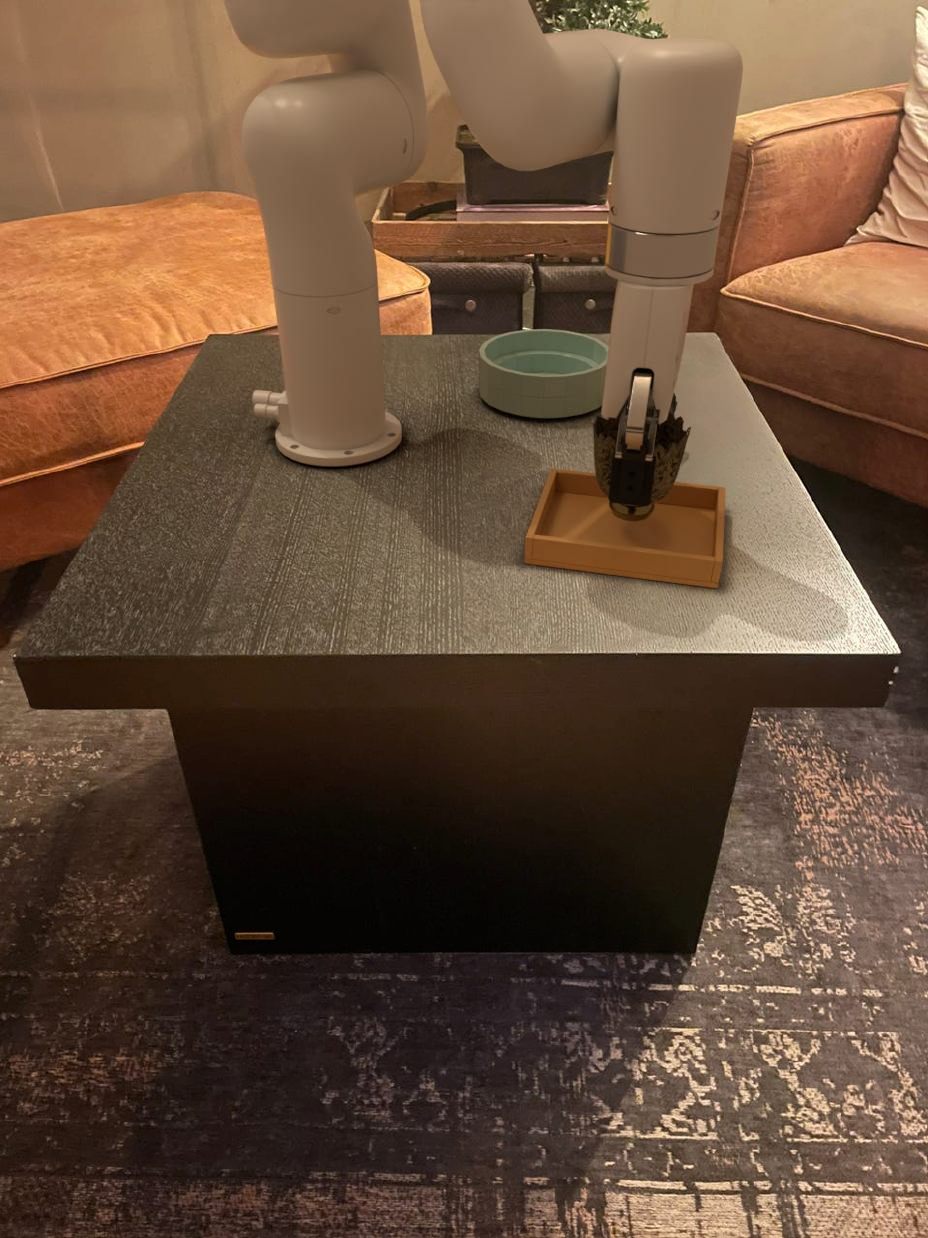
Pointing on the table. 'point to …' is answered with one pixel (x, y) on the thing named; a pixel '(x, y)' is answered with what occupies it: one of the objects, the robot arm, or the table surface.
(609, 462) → the cup
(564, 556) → the tray
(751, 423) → the table surface
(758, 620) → the table surface
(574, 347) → the bowl
